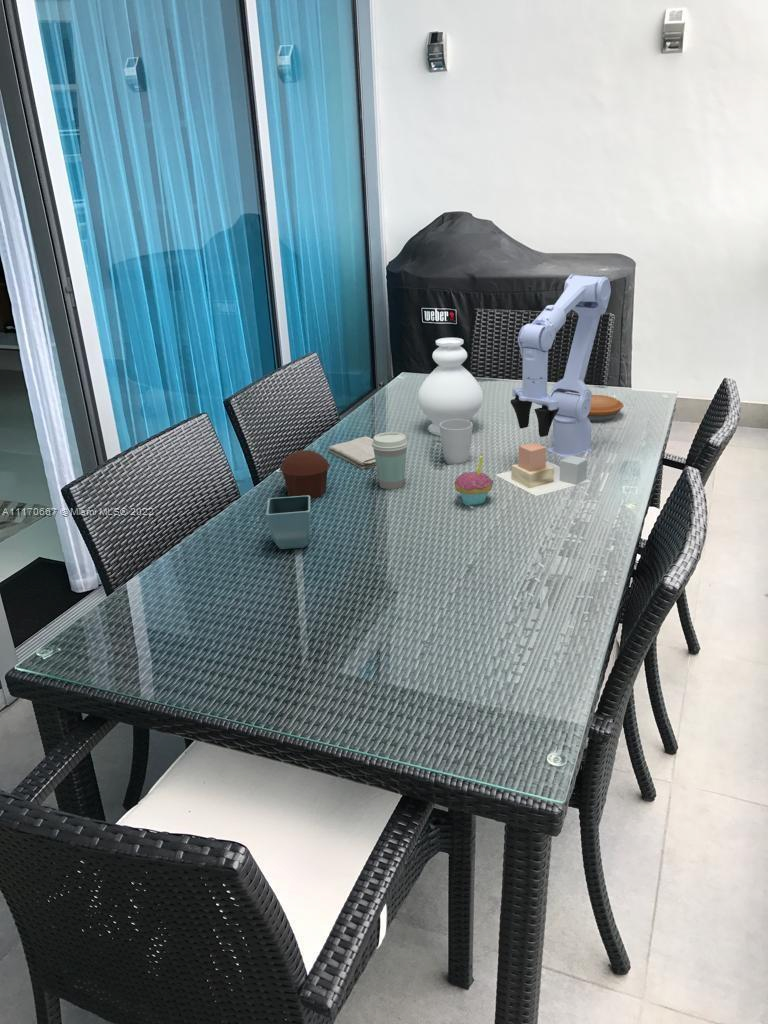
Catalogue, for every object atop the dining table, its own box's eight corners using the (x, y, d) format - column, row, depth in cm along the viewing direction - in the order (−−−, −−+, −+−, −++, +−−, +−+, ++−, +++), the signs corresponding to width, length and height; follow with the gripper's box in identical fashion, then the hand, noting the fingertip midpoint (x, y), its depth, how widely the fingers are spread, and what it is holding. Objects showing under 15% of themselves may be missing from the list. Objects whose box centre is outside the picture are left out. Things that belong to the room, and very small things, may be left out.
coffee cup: (415, 480, 211) (413, 433, 206) (400, 493, 204) (398, 444, 199) (383, 476, 214) (380, 429, 210) (367, 488, 207) (365, 440, 203)
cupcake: (496, 497, 199) (496, 447, 195) (487, 511, 192) (488, 460, 187) (459, 493, 202) (459, 444, 197) (450, 508, 195) (449, 457, 190)
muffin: (273, 499, 204) (269, 458, 200) (294, 482, 213) (291, 443, 209) (320, 504, 200) (317, 463, 196) (339, 486, 209) (336, 447, 205)
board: (548, 463, 218) (548, 461, 217) (591, 483, 205) (591, 481, 204) (495, 477, 211) (495, 474, 211) (536, 498, 198) (536, 496, 198)
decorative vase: (485, 438, 237) (485, 347, 227) (419, 440, 238) (417, 349, 228) (479, 418, 253) (479, 332, 243) (418, 420, 254) (416, 334, 244)
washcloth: (363, 472, 219) (363, 460, 218) (326, 453, 232) (325, 442, 231) (402, 461, 225) (402, 450, 224) (363, 444, 239) (363, 433, 237)
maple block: (535, 473, 210) (535, 459, 209) (553, 481, 205) (554, 467, 203) (511, 479, 207) (511, 465, 206) (529, 488, 202) (529, 474, 200)
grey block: (569, 474, 208) (570, 455, 206) (586, 478, 206) (587, 459, 204) (559, 480, 205) (560, 460, 203) (576, 484, 203) (577, 464, 201)
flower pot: (271, 536, 185) (267, 497, 182) (313, 533, 186) (310, 494, 182) (270, 554, 177) (266, 514, 173) (313, 551, 178) (310, 511, 174)
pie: (567, 424, 245) (568, 407, 243) (566, 408, 259) (567, 391, 257) (624, 425, 243) (625, 407, 241) (620, 408, 257) (621, 392, 255)
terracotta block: (533, 462, 207) (534, 442, 205) (545, 467, 204) (546, 447, 202) (518, 466, 205) (518, 446, 203) (530, 471, 202) (530, 451, 200)
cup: (472, 456, 225) (472, 419, 220) (472, 467, 217) (472, 429, 213) (441, 456, 225) (440, 419, 221) (439, 467, 218) (438, 429, 214)
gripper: (502, 372, 207) (501, 427, 213) (540, 386, 196) (539, 443, 201) (526, 367, 210) (525, 421, 216) (565, 380, 199) (563, 437, 204)
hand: (533, 431), depth 209 cm, fingers open, 7 cm apart
